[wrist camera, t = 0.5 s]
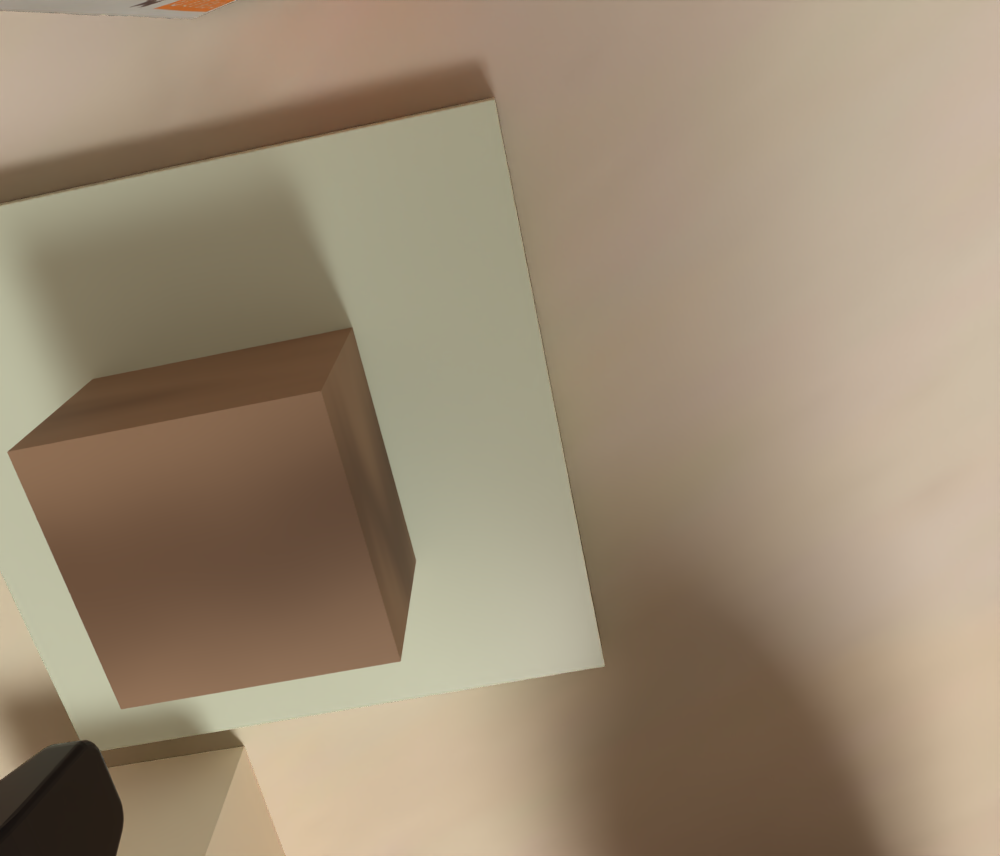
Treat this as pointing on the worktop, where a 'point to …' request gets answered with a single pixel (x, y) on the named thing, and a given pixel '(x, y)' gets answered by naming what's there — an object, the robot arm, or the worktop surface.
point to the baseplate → (388, 368)
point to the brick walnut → (226, 519)
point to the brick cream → (194, 807)
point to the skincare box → (118, 7)
